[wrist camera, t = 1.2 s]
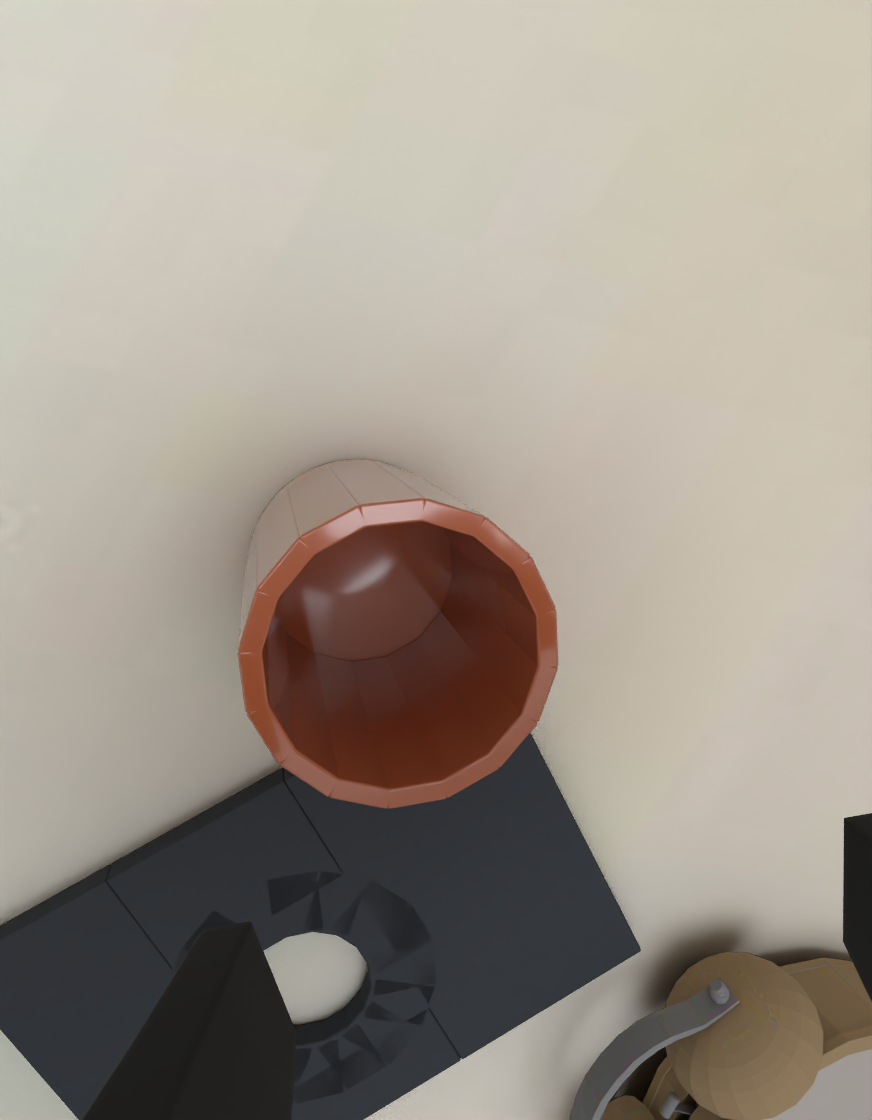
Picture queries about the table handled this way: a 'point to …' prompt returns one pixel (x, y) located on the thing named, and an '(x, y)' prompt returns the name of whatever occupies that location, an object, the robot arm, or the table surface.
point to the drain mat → (329, 930)
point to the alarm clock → (745, 1047)
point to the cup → (390, 636)
